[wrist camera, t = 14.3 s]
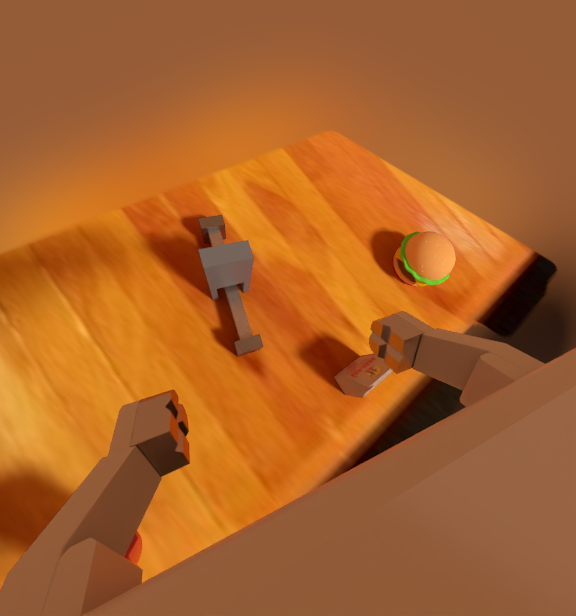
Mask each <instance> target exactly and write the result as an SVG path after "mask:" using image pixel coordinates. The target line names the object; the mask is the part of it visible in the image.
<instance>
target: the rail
mask: <svg viewBox="0 0 576 616" xmlns="http://www.w3.org/2000/svg"><path fill="white" fill-rule="evenodd" d="M198 219H199V224H200V228H201V232H202V236H203V239H204V243H207V242H210V243H211V247H214V246H220V245H224V242H223V239H226V233H225V223H224V220H223V217H222V215H218V216H211V217H205V218H198ZM224 291H225V294H226V297H227V301H228V304H229V308H230V311H231V314H232V318H233V321H234V324H235V328H236V331H237V335H238V338H239V341H235V342H234V346H235V349H236V353H237V356H238V357H239V356H242V355H245V354H248V353H251V352H254V351H257V350H260V349H261V348H262V347H263V344H262V340H261V337H260V334H258V335H255V336H252V333H251V329H250V326H249V323H248V320H247V316H246V313H245V310H244V307H243V303H242V300H241V297H240V294H239V291H238V287H237V284H235V285H231V286H227V287H224Z"/></svg>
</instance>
